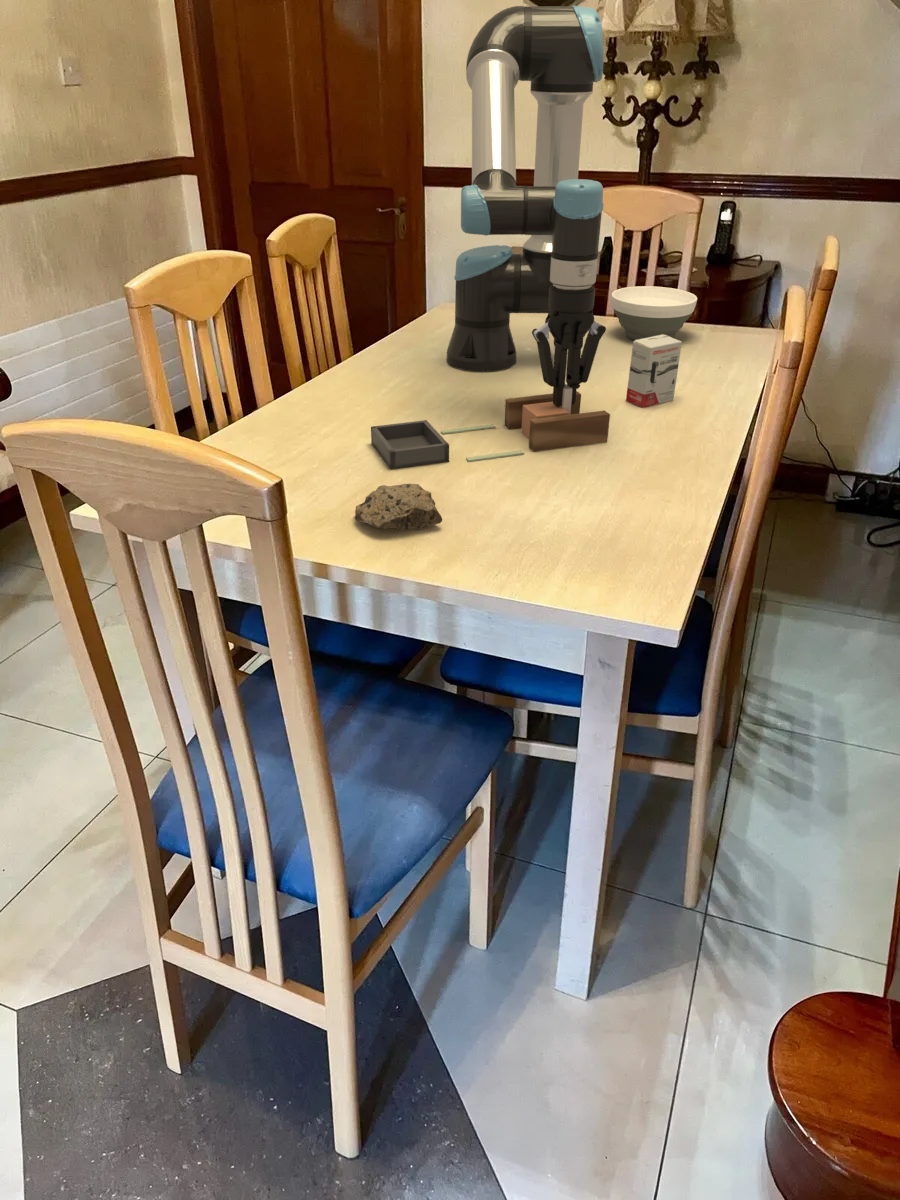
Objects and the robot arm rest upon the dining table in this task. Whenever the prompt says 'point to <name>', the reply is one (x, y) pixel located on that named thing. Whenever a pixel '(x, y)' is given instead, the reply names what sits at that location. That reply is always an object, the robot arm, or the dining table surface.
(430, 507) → the rock
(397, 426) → the tray
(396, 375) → the dining table surface
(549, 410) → the rust block
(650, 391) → the ink box
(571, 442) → the channel
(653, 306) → the bowl
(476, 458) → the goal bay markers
